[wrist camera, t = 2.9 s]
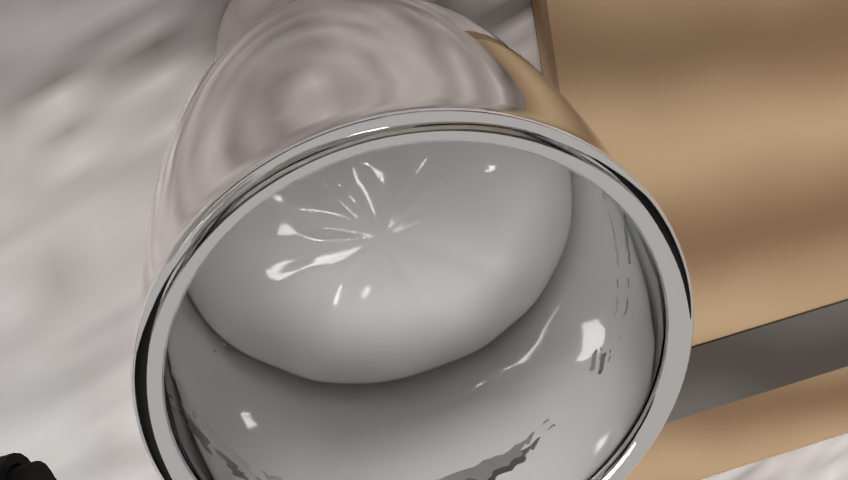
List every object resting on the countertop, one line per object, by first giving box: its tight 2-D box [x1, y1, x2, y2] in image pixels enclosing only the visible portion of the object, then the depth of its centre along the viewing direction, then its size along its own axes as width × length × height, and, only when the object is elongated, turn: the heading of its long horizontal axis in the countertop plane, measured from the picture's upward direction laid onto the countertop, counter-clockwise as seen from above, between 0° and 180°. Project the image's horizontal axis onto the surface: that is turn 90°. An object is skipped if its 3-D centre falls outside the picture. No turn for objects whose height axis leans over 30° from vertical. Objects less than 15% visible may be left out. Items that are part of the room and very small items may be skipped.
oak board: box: [531, 0, 848, 480], centre depth 26 cm, size 22×12×2 cm, turn 13°
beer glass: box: [131, 0, 694, 480], centre depth 16 cm, size 7×7×15 cm
